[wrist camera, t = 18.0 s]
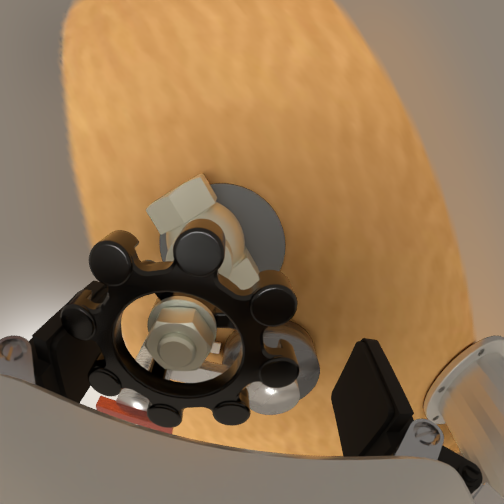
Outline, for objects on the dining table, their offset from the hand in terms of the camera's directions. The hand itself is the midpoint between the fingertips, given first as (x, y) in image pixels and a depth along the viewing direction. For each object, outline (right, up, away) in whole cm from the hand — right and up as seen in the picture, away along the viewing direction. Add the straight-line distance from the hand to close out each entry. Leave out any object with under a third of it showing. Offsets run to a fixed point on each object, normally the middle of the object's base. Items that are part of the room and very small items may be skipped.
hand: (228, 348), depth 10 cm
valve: (-2, +5, +8) cm, 10 cm away
